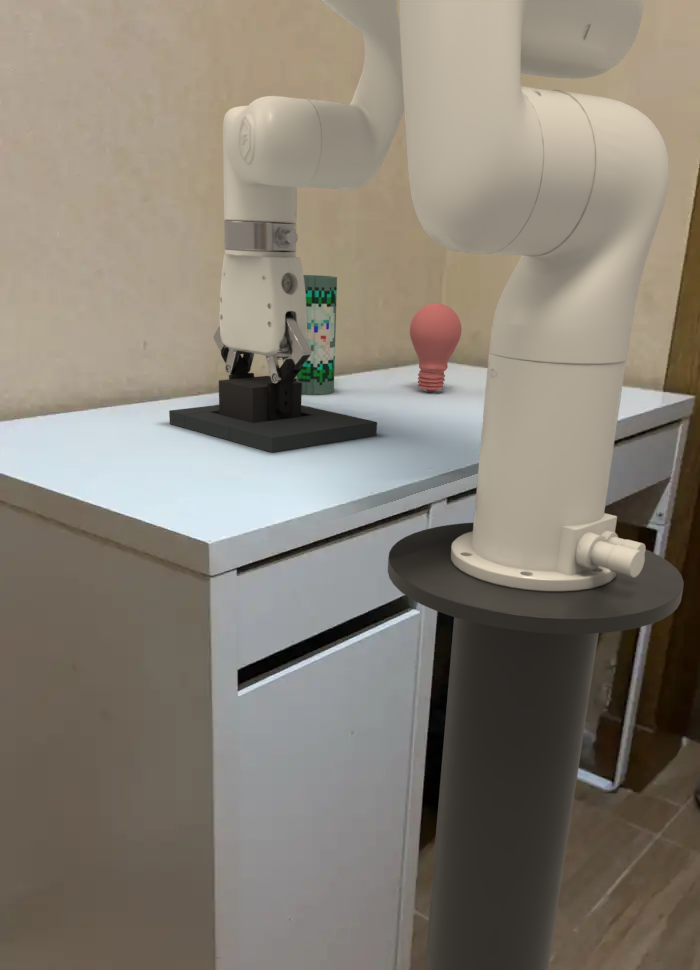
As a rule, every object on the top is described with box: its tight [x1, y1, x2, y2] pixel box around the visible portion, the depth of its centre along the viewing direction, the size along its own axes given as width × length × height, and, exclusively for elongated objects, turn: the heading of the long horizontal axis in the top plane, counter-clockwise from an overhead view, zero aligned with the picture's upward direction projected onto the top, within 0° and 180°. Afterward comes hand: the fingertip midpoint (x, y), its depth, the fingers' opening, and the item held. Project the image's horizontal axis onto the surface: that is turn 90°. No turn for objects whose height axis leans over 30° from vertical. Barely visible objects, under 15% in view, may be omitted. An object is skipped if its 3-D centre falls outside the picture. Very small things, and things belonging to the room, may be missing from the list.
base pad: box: [168, 404, 378, 453], centre depth 104 cm, size 18×15×2 cm
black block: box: [218, 375, 303, 423], centre depth 104 cm, size 6×7×4 cm
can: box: [296, 274, 338, 396], centre depth 127 cm, size 6×6×15 cm
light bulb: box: [409, 302, 462, 393], centre depth 130 cm, size 7×7×12 cm
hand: (260, 412), depth 105 cm, fingers closed on black block, 6 cm apart
